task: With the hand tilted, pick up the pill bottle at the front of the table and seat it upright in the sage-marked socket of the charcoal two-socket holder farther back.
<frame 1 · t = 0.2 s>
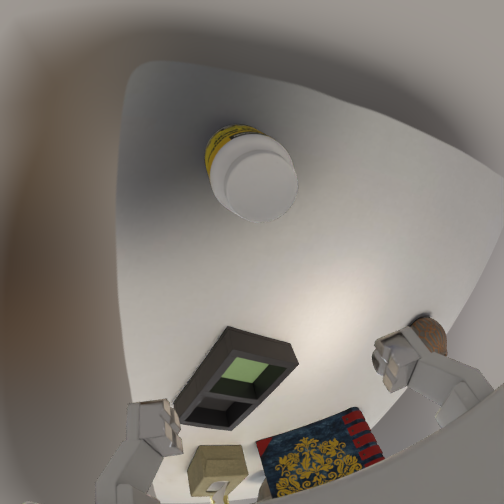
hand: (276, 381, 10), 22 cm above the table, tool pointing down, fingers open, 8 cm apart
holder: (227, 377, 44), on the table
vase: (416, 325, 49), on the table
book: (309, 428, 61), on the table
tissue box: (211, 458, 60), on the table
vase 2: (217, 487, 75), on the table
bowl: (279, 470, 75), on the table
pill bottle: (235, 154, 28), on the table
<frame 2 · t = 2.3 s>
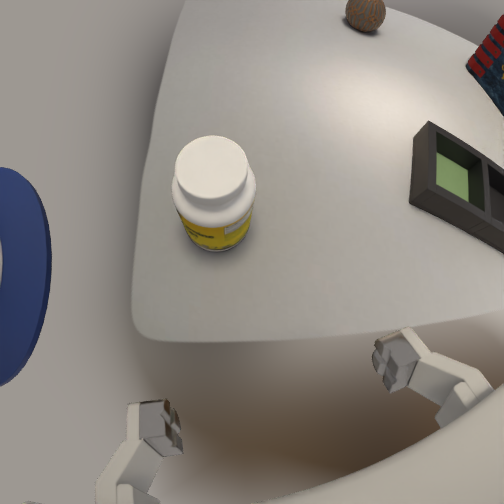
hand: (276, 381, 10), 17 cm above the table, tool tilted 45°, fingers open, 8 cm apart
holder: (468, 198, 32), on the table
vase: (359, 26, 40), on the table
book: (503, 109, 40), on the table
pill bottle: (217, 222, 29), on the table
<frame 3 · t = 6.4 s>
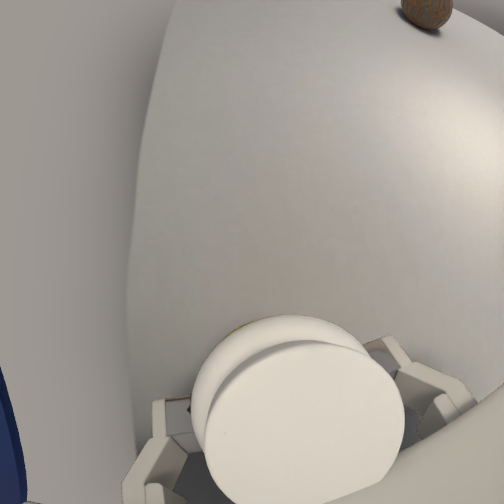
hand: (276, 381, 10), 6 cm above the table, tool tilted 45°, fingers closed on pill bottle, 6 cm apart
vase: (417, 22, 27), on the table
pill bottle: (266, 373, 16), on the table, touching gripper
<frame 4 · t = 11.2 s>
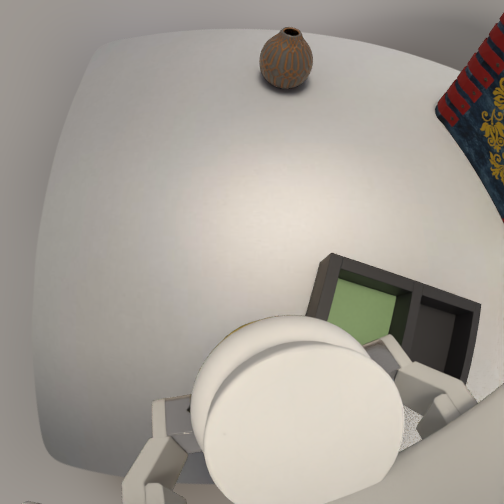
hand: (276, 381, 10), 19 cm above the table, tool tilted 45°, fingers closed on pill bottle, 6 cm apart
holder: (390, 333, 29), on the table
vase: (282, 80, 37), on the table
book: (481, 165, 36), on the table
pill bottle: (266, 373, 16), point 13 cm above the table, touching gripper
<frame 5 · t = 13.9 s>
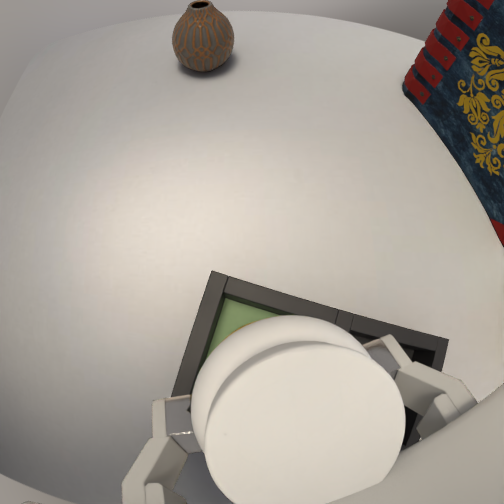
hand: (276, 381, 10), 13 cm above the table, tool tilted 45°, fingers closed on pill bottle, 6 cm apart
holder: (312, 374, 23), on the table
vase: (205, 62, 31), on the table
book: (463, 152, 30), on the table
pill bottle: (266, 373, 16), point 7 cm above the table, touching gripper
when the fingers open (7 cm above the table, at t = 16.3 s): pill bottle stays where it is, resting on holder.
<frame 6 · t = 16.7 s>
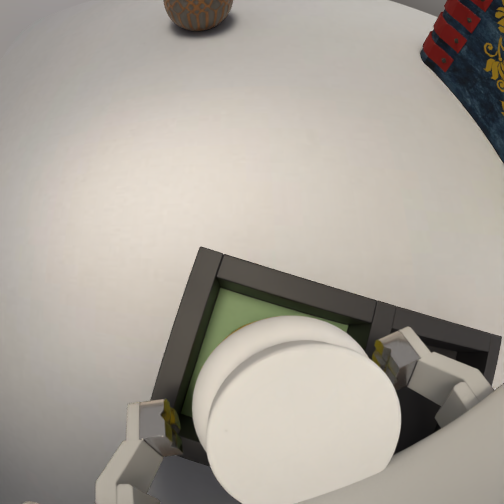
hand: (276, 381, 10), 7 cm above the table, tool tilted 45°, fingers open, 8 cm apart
holder: (335, 388, 17), on the table
vase: (200, 23, 25), on the table
book: (490, 126, 24), on the table
pill bottle: (266, 373, 16), point 1 cm above the table, touching holder
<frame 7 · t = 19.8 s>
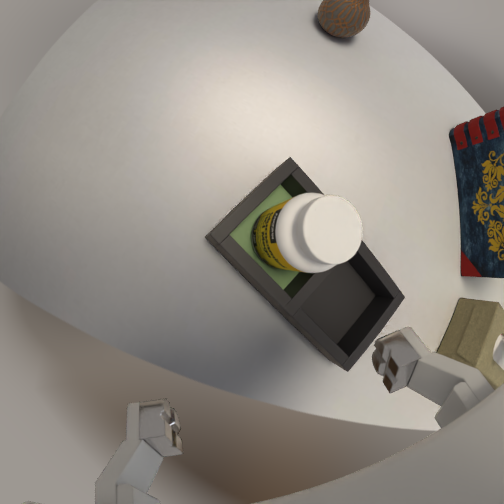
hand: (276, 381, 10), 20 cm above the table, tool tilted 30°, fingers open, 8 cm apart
holder: (306, 269, 32), on the table
vase: (332, 28, 34), on the table
book: (466, 198, 40), on the table
tissue box: (469, 345, 40), on the table
pill bottle: (279, 238, 31), point 1 cm above the table, touching holder
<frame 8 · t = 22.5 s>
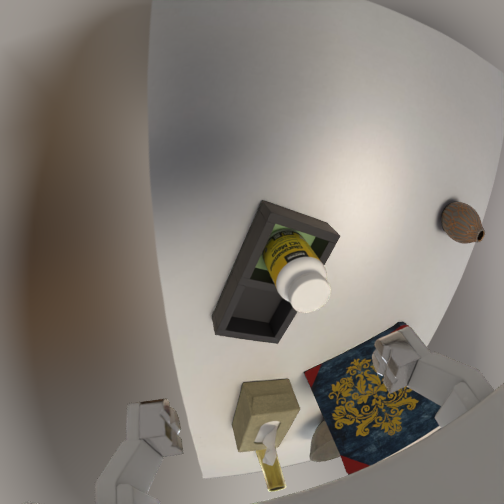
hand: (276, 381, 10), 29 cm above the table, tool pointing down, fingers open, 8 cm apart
holder: (267, 272, 44), on the table
vase: (447, 213, 47), on the table
book: (358, 352, 60), on the table
tissue box: (258, 403, 62), on the table
vase 2: (265, 448, 77), on the table
bowl: (330, 419, 75), on the table
pill bottle: (281, 247, 42), point 1 cm above the table, touching holder
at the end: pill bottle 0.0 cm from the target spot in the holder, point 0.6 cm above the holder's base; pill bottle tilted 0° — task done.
